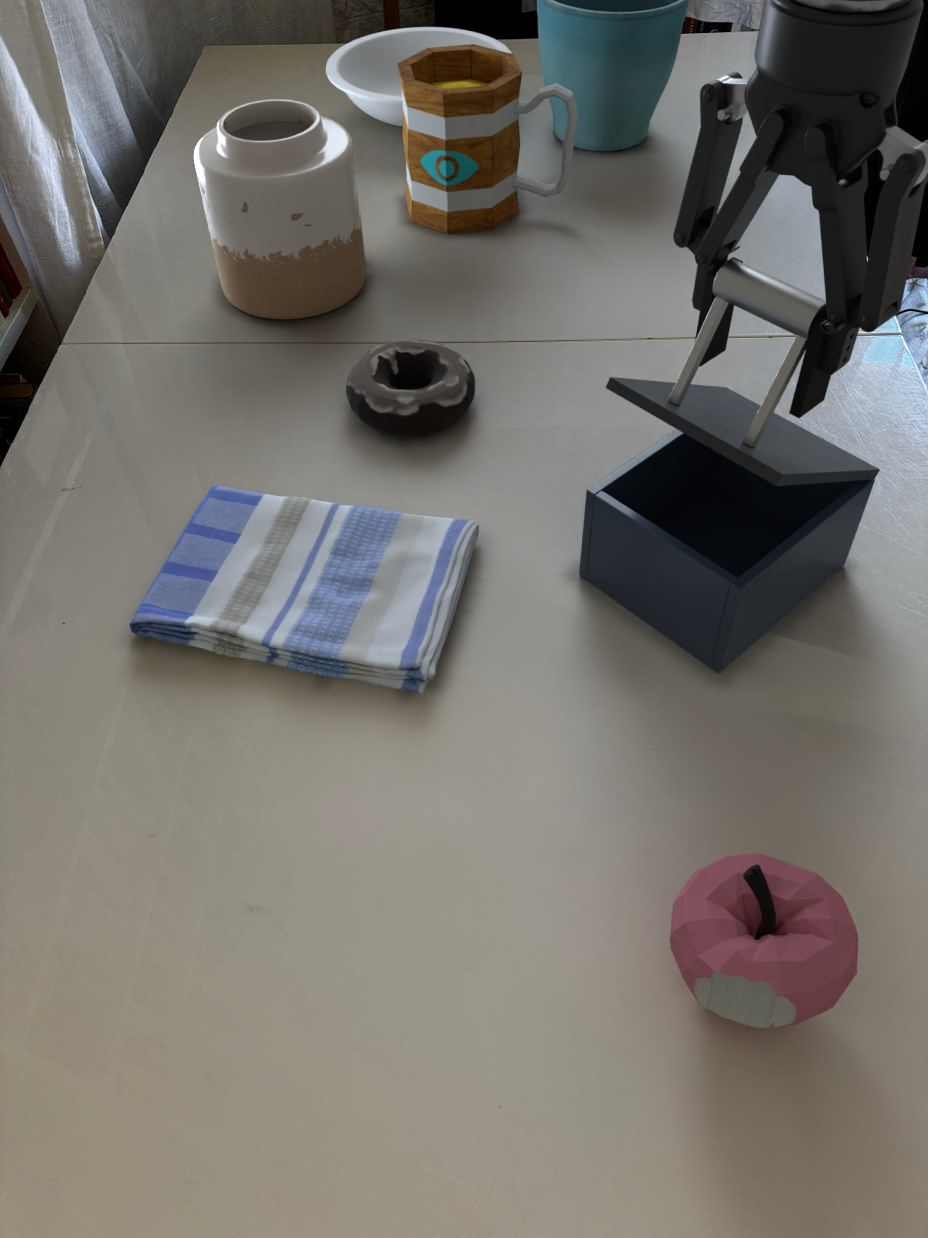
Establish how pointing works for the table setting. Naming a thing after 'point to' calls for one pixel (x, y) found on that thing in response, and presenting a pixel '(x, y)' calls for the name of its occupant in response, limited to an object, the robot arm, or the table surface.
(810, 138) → the robot arm
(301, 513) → the dish towel
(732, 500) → the blue storage box
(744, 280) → the lid
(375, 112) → the soup bowl
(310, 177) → the vase
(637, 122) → the flower pot
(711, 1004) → the apple
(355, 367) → the donut
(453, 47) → the mug
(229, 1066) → the table surface
